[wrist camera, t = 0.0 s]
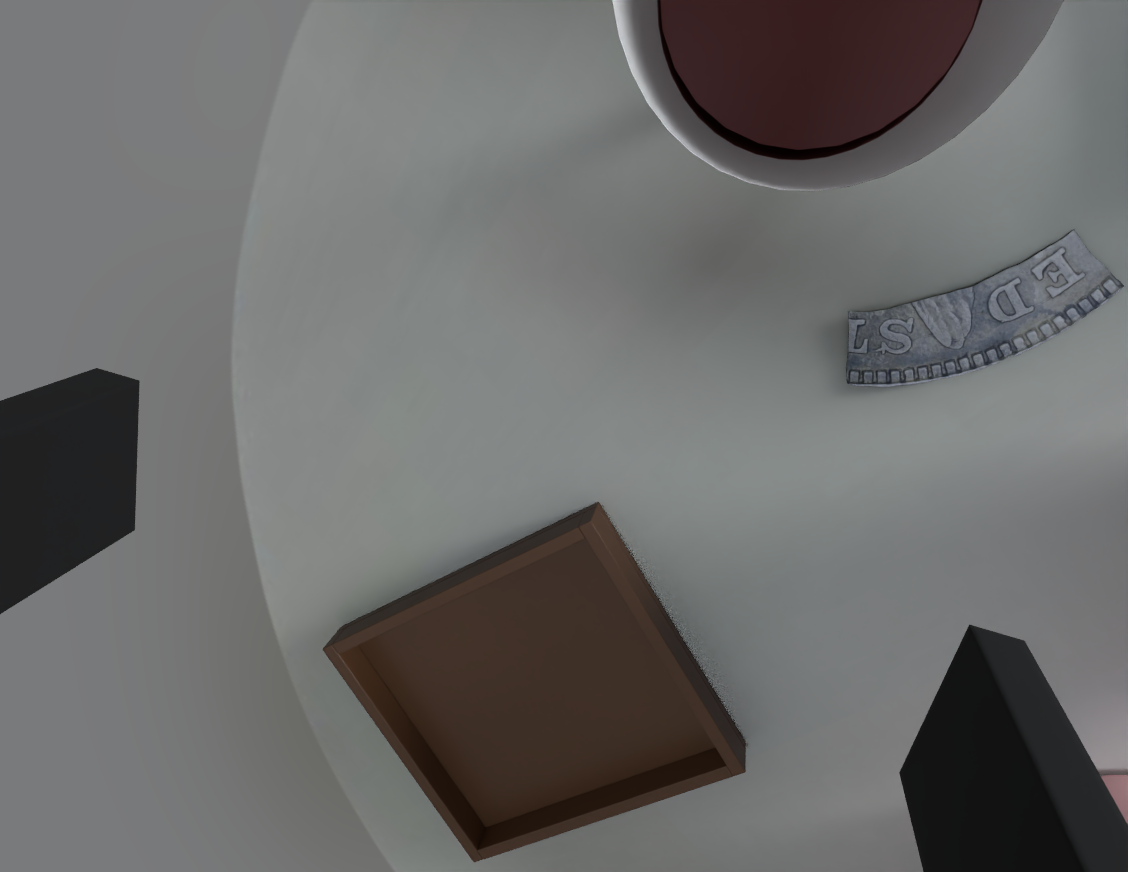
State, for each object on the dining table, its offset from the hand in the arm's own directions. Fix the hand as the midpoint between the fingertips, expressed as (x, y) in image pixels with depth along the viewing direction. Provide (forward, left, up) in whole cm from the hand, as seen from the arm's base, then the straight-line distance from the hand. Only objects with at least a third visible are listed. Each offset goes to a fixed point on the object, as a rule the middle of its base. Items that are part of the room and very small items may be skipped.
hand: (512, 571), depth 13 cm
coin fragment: (-11, +9, -32) cm, 35 cm away
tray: (+20, +18, -32) cm, 41 cm away
